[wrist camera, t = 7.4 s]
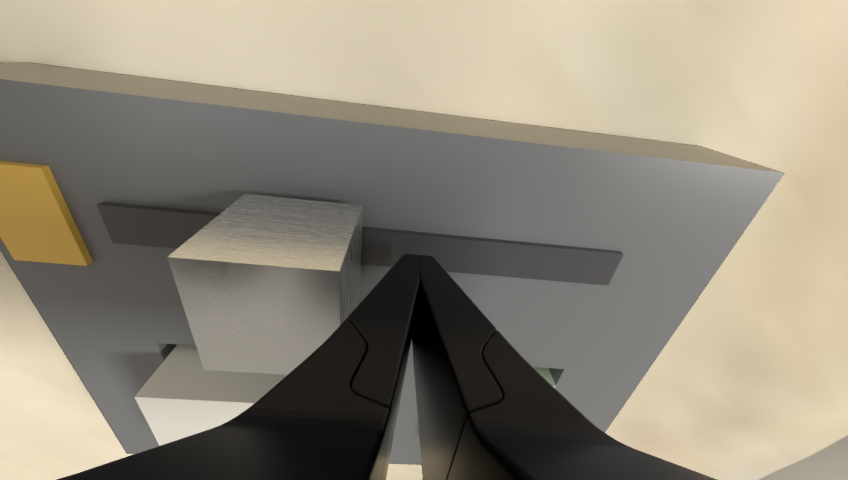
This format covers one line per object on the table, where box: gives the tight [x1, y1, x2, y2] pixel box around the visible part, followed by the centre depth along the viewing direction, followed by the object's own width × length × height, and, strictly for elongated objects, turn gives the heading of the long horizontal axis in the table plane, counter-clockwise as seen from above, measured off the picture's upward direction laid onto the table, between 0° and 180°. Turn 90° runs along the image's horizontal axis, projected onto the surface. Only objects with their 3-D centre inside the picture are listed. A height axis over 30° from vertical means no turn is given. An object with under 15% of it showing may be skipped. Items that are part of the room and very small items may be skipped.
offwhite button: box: [135, 344, 287, 446], centre depth 13 cm, size 4×4×2 cm
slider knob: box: [167, 194, 363, 375], centre depth 8 cm, size 3×3×3 cm
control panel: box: [0, 62, 784, 465], centre depth 13 cm, size 16×22×3 cm
